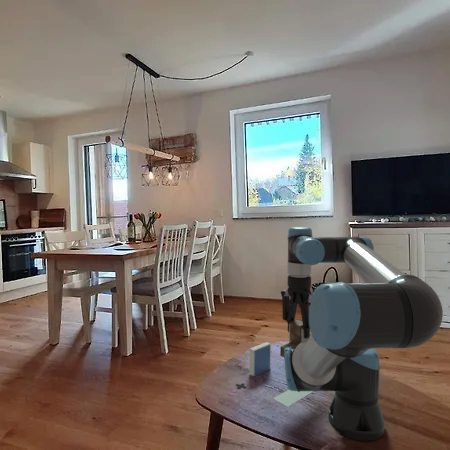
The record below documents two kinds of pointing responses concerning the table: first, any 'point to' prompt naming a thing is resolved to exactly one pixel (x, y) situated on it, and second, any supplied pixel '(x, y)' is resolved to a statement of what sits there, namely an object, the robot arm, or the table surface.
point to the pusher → (293, 336)
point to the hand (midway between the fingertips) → (298, 344)
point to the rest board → (291, 397)
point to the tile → (260, 358)
